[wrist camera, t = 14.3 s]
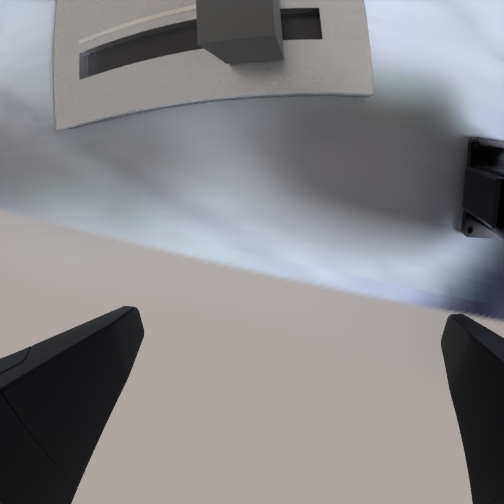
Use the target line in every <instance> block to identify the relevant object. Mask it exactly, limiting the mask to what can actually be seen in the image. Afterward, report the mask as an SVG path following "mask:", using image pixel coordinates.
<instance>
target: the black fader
mask: <svg viewBox="0 0 504 504" xmlns="http://www.w3.org/2000/svg"><path fill="white" fill-rule="evenodd" d="M196 16H197V41H198V45H199V46H201V47H202V48H204V49H205V50H207V51H208V52H210V53H211V54H213V55H214V56H216V57H217V58H219V59H220V60H221V61H223V62H224V63H226V64H230V63H239V62H250V61H262V60H279V59H284V51H283V38H282V25H281V14H280V3H279V0H196Z"/></svg>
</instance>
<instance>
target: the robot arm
mask: <svg viewBox="0 0 504 504" xmlns="http://www.w3.org/2000/svg"><path fill="white" fill-rule="evenodd" d="M475 142H477V145H478V146H477V148H476V149H475V147H474V143H475ZM462 206H463V208H464V212H463V220H462V227H461V231H462V233H463V234H464V235H465V236H466V237H477V238H502V239H504V142H500V141H495V140H489V139H483V138H478V137H472V138H470V140H469V142H468V164H467V168H466V170H465V183H464V195H463V205H462ZM469 226H470V230H469V231H468V232H467V228H468V227H469ZM143 337H144V328H143V324H142V321H141V317H140V313H139V310H138V309H137V308H136V307H131V306H123V307H121V308H119V309H116V310H114V311H111V312H109V313H107V314H104V315H102V316H100V317H98V318H95V319H93V320H91V321H88V322H86V323H84V324H81V325H79V326H77V327H74V328H72V329H70V330H67V331H65V332H63V333H61V334H58V335H56V336H53V337H51V338H49V339H46V340H44V341H42V342H40V343H37V344H35V345H33V346H32V347H31V346H30V347H28V348H25V349H23V350H21V351H18V352H16V353H14V354H11V355H9V356H6V357H4V358H1V359H0V504H71V503H72V500H73V498H74V495H75V493H76V491H77V487H78V486H79V483H80V481H81V478H82V476H83V474H84V472H85V469H86V467H87V465H88V462H89V460H90V458H91V456H92V453H93V451H94V449H95V447H96V445H97V442H98V440H99V438H100V436H101V434H102V431H103V429H104V427H105V425H106V423H107V421H108V419H109V417H110V414H111V412H112V410H113V408H114V406H115V404H116V402H117V400H118V398H119V396H120V394H121V392H122V390H123V388H124V385H125V383H126V381H127V379H128V377H129V374H130V372H131V369H132V367H133V364H134V361H135V358H136V356H137V353H138V351H139V348H140V345H141V343H142V340H143ZM441 347H442V352H443V356H444V362H445V367H446V373H447V378H448V384H449V389H450V393H451V397H452V401H453V404H454V408H455V412H456V416H457V420H458V424H459V429H460V433H461V437H462V442H463V447H464V451H465V456H466V462H467V468H468V473H469V479H470V485H471V494H472V501H473V504H504V338H502V337H501V336H499V335H498V334H496V333H494V332H493V331H491V330H489V329H487V328H486V327H484V326H482V325H481V324H479V323H477V322H475V321H474V320H472V319H470V318H469V317H467V316H465V315H463V314H451V315H450V316H449V317H448V319H447V322H446V325H445V329H444V332H443V335H442V339H441Z"/></svg>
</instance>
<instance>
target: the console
mask: <svg viewBox="0 0 504 504" xmlns="http://www.w3.org/2000/svg"><path fill="white" fill-rule="evenodd" d="M279 3H280V14H281V25H282V38H283V51H284V59H279V60H262V61H250V62H239V63H230V64H226V63H224V62H223V61H221V60H220V59H219V58H217V57H216V56H214V55H213V54H211V53H210V52H208V51H207V50H205V49H204V48H202V47H201V46H199V45H198V41H197V16H196V0H57V7H56V18H55V33H54V104H55V120H56V130H63V129H71V128H76V127H80V126H84V125H87V124H91V123H95V122H99V121H104V120H108V119H112V118H117V117H121V116H126V115H131V114H136V113H141V112H146V111H151V110H157V109H163V108H169V107H175V106H182V105H189V104H197V103H205V102H213V101H223V100H233V99H245V98H260V97H279V96H353V97H368V96H370V95H372V94H374V92H373V77H372V64H371V53H370V43H369V34H368V26H367V18H366V11H365V4H364V0H279Z"/></svg>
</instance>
